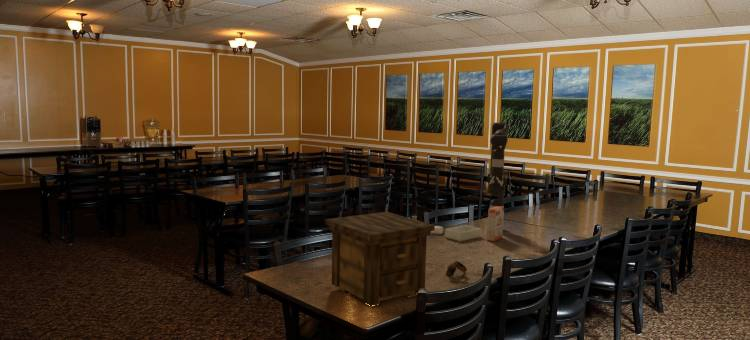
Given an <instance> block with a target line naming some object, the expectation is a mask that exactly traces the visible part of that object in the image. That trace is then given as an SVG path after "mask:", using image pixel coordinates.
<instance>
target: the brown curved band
mask: <svg viewBox="0 0 750 340" xmlns="http://www.w3.org/2000/svg"><path fill="white" fill-rule="evenodd" d="M467 269H468V268H467V267H466V266H465V265H464V264H463V263H461V262H460V261H457V260H455V261H454V262H451V263H450V264H449V265H448V266H447V269H446V272H445V275H446V276H447V277H449V276H450V277H453V276H454V274H455V273H456V271H457V270H459V271H460V272H462V273H463V274H462V277H463V278H465V276H466V275H467Z"/></svg>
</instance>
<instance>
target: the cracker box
mask: <svg viewBox="0 0 750 340" xmlns="http://www.w3.org/2000/svg"><path fill="white" fill-rule="evenodd" d="M504 214H505V207H504V206H503V207H500V206H496V207H493V208H490V207H489V208H488V213H487V224H486V225H487V228H486V241H490V242H496V241H499V240H500V239H502V238H503V232H504V218H505V215H504Z"/></svg>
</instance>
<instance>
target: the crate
mask: <svg viewBox="0 0 750 340" xmlns="http://www.w3.org/2000/svg"><path fill="white" fill-rule="evenodd" d="M324 223H325V224H324V225H326V226H328V230H329V231H332V233H331V235H332V237H331V238H332V239H331V241H332V242H331V285H332V286H334V287H336V288H338V290H339V289H340V290H342V291H344V292H345V291H348V292H349V293H350V294H352V295H354V296H355V297H357V298H359V299H361V300H362V301H363V302H364V304H365V303H367V304H369V305H370V306H372V305H377V304H380V305H381V302H383V301H386V300H391V299H394V298H395V299H396V298H398V297H399V298H400V297H402V296H405V295H407V296H409V297H410V296H414V295H416V293H417V289H419V288H424V289H425V290H426V270H427V269H426V268H427V267H426V265H427V243H428V242H427V241H428V240H427V237H429V236H431V235H432V233H431V231H434V228H435V226H436V225H435V224H432V223H431V224H430V223H427V222H423V221H420V220H416V219H414V218H410V217H407V216H402V215H400V214H396V213H393V212H388V211H383V212H374V213H373V212H372V213H367V214H365V213H364V214H358V215H349V216H340V217H332V218H325V222H324ZM340 290H339V291H340ZM342 291H341V292H342ZM344 292H343V293H344ZM348 292H347V293H348ZM345 293H346V292H345ZM417 294H418V293H417ZM407 296H406V297H407ZM409 297H408V298H409ZM414 297H415V296H414ZM410 298H411V297H410Z"/></svg>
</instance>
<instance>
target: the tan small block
mask: <svg viewBox="0 0 750 340" xmlns="http://www.w3.org/2000/svg"><path fill="white" fill-rule="evenodd" d="M443 233H444V227H443V226H440V225H435V228H434V231H431V235H432V234H433V235H442V234H443Z"/></svg>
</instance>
